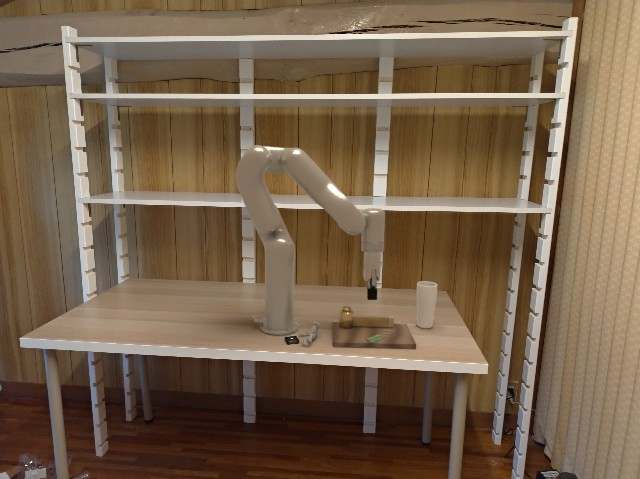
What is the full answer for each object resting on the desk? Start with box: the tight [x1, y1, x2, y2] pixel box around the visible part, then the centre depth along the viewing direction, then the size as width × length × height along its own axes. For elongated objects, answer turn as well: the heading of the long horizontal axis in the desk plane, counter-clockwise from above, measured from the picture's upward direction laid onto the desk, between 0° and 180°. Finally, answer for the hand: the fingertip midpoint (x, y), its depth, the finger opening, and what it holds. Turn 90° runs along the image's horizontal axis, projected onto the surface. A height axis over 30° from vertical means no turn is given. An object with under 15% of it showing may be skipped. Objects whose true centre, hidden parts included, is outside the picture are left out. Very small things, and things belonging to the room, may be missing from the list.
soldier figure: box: [298, 320, 321, 347], centre depth 145 cm, size 8×5×12 cm
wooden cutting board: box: [331, 321, 417, 350], centre depth 148 cm, size 25×17×2 cm
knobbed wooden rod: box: [339, 305, 395, 328], centre depth 151 cm, size 18×4×6 cm, turn 89°
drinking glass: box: [415, 280, 438, 330], centre depth 157 cm, size 7×7×15 cm
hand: (372, 299), depth 157 cm, fingers closed
